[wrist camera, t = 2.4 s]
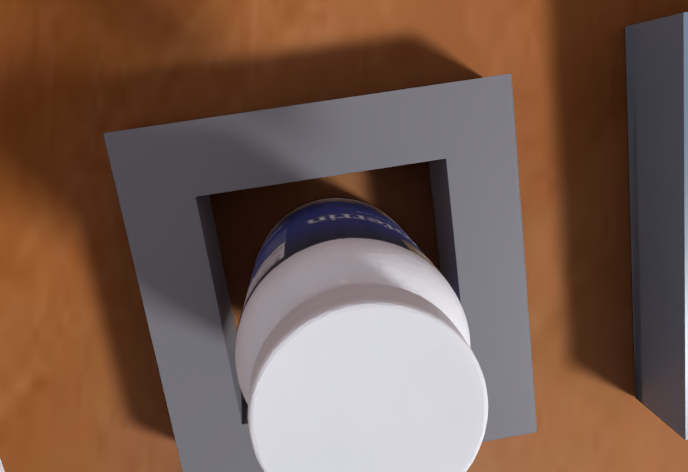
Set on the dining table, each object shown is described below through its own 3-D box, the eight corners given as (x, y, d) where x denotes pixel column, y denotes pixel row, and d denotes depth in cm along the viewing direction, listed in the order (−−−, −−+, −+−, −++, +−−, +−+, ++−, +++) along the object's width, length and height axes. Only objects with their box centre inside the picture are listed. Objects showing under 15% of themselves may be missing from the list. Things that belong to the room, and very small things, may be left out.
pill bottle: (439, 230, 21) (570, 341, 11) (375, 369, 22) (442, 584, 12) (290, 168, 20) (287, 229, 10) (230, 316, 21) (173, 502, 11)
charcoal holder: (199, 450, 22) (188, 494, 19) (127, 129, 19) (102, 133, 16) (510, 396, 22) (536, 432, 20) (483, 77, 19) (511, 73, 17)
